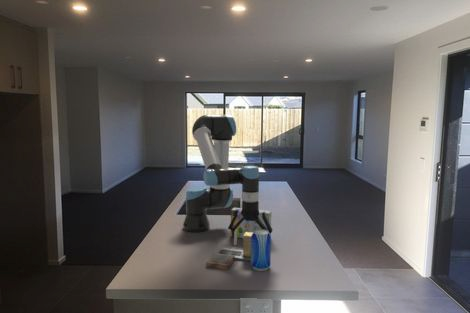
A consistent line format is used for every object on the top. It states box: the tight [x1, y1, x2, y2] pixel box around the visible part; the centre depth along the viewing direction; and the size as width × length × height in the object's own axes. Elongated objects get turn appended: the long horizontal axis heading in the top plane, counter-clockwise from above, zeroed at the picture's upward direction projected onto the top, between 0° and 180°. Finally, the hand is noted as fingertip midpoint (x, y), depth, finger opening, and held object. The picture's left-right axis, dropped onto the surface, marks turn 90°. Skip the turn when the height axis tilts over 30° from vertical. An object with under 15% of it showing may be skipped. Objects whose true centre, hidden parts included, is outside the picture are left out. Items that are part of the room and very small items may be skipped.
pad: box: [205, 252, 235, 271], centre depth 156 cm, size 10×10×2 cm
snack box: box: [230, 207, 272, 239], centre depth 186 cm, size 21×6×15 cm, turn 71°
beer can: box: [250, 229, 272, 272], centre depth 151 cm, size 8×8×16 cm
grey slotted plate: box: [217, 247, 251, 262], centre depth 163 cm, size 20×9×1 cm, turn 75°
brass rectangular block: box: [242, 232, 253, 258], centre depth 162 cm, size 5×5×11 cm
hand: (249, 245), depth 161 cm, fingers open, 13 cm apart
